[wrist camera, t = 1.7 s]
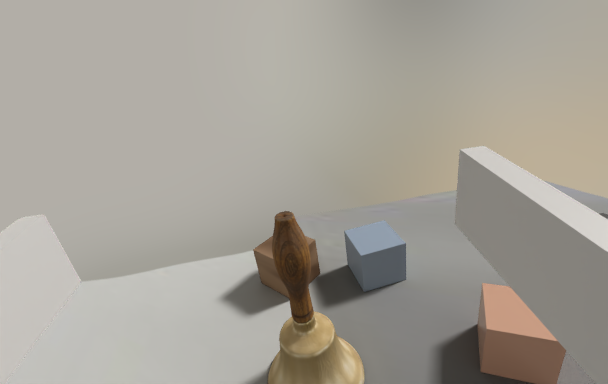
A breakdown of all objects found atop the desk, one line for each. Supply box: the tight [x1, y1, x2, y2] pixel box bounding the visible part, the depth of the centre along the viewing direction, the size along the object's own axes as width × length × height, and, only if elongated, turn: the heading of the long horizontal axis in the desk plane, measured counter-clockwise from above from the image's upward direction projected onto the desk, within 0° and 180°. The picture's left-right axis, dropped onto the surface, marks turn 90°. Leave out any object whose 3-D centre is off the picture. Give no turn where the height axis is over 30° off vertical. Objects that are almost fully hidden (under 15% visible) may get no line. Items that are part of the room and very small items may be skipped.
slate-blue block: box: [344, 220, 406, 292], centre depth 39 cm, size 5×5×5 cm
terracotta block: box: [478, 283, 566, 384], centre depth 28 cm, size 5×5×5 cm
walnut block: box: [253, 236, 320, 298], centre depth 40 cm, size 5×5×5 cm
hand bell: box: [268, 211, 364, 384], centre depth 26 cm, size 8×8×16 cm
